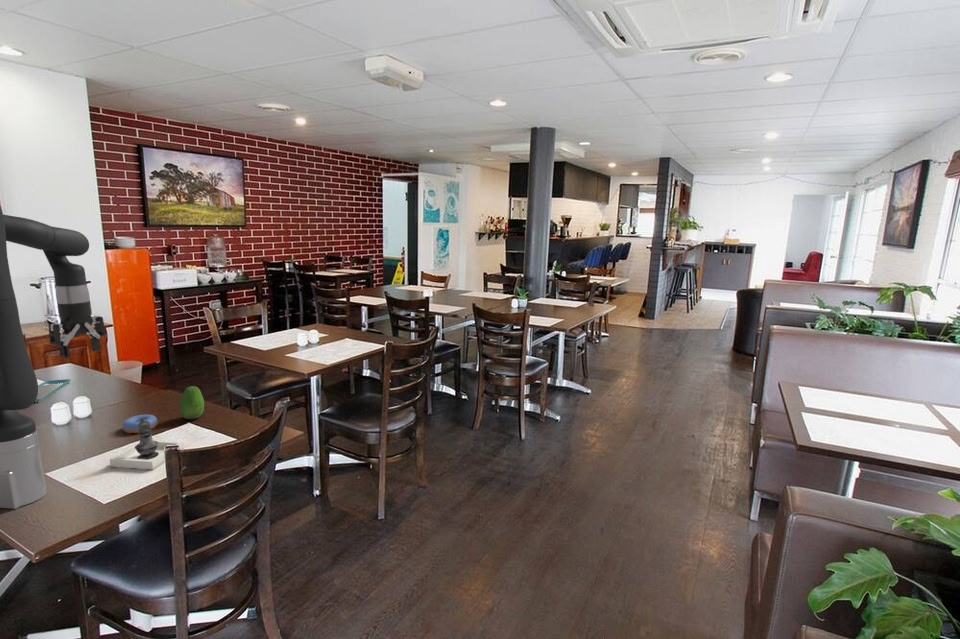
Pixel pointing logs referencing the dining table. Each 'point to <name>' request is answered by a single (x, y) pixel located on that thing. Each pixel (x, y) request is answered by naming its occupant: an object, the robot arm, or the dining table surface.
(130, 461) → the ceramic dish
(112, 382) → the dining table surface
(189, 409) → the avocado
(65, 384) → the shallow long dish
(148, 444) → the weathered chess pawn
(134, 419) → the doughnut
